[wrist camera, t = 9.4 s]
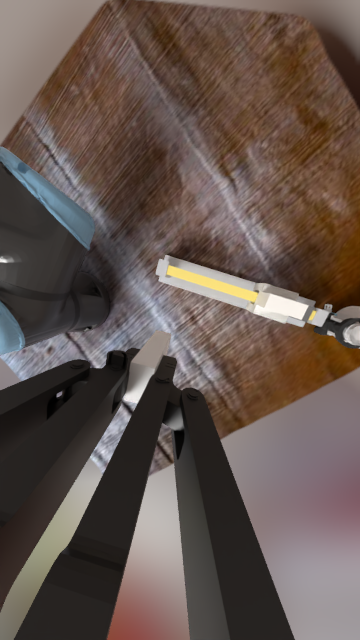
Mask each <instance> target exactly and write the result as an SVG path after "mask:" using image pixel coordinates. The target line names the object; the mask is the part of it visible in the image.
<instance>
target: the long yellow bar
mask: <svg viewBox="0 0 360 640" xmlns="http://www.w3.org/2000/svg"><path fill="white" fill-rule="evenodd" d="M166 274H167V275H170V276H173V277H176V278H180V279H183V280H186V281H189V282H192V283H195V284H198V285H202V286H205V287H208V288H211V289H214V290H217V291H221V292H224V293H227V294H230V295H233V296H236V297H239V298H243V299H246V300H249V301H252V302H255V300H256V298H257V296H258V293H256V292H253V291H250V290H246V289H243V288H240V287H237V286H234V285H231V284H227V283H224V282H221V281H218V280H215V279H211V278H208V277H205V276H202V275H199V274H195V273H192V272H189V271H186V270H183V269H180V268H176V267H173V266H170V265H169V266H168V269H167V273H166ZM302 304H303V303H302ZM314 308H315V307H312V306H308V308H307V310H306V312H305V314H304V316H303V318H302V320H301V321H304V322H307V321H308V319H309V320H312V319H313V317H314V315H315V313H316V312H317V311H313V310H314ZM289 317H290V316H289ZM292 318H294V317H292ZM294 319H297V318H294ZM298 320H300V319H298Z"/></svg>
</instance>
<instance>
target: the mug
mask: <svg viewBox="0 0 360 640" xmlns="http://www.w3.org/2000/svg"><path fill="white" fill-rule="evenodd" d="M336 314H337V317H338V318H341V319H348V318H360V306H350V307H346V308H343V309H341V310H339V311H338V312H337V313H336ZM356 323H359V322H356ZM334 337H335V336H334ZM344 341H345V340H344ZM345 342H347V341H345Z"/></svg>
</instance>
